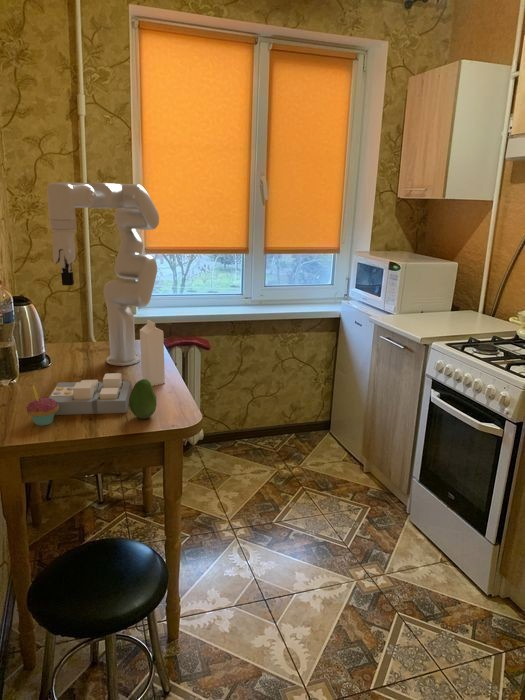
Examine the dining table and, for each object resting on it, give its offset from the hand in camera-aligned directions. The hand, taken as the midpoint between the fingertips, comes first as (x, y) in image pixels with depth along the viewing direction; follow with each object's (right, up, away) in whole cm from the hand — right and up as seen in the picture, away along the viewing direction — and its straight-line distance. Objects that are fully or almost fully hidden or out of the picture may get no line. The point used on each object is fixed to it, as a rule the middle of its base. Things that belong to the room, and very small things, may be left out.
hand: (68, 284), depth 168 cm
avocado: (+26, -41, -10) cm, 49 cm away
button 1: (+7, -36, -5) cm, 37 cm away
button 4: (+14, -38, -4) cm, 41 cm away
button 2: (+6, -36, +2) cm, 36 cm away
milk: (+23, -32, +18) cm, 43 cm away
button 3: (+13, -34, +3) cm, 36 cm away
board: (+8, -37, -1) cm, 38 cm away
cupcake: (-2, -42, -14) cm, 44 cm away
